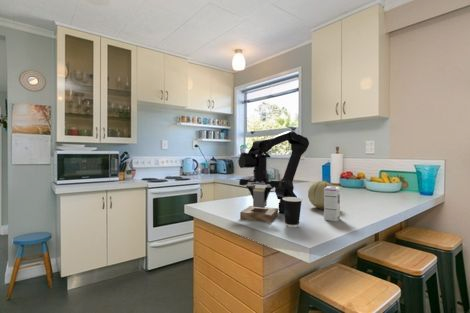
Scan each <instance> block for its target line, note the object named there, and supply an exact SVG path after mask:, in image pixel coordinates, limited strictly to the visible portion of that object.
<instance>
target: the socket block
mask: <svg viewBox="0 0 470 313" xmlns="http://www.w3.org/2000/svg"><path fill="white" fill-rule="evenodd" d="M239 213H240V214H239V215H240V217H239V219H240V220H248V221H257V222H266V223H272V222H273V221H274V219H276V218H277V217H278V215H279V207H277V208H275V207H267V206H265V207H264V208H261V207H253V205H249V206H248V207H246V208H244V209H243V210H241V211H240V212H239Z"/></svg>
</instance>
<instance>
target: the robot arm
mask: <svg viewBox="0 0 470 313" xmlns="http://www.w3.org/2000/svg"><path fill="white" fill-rule="evenodd" d="M285 142H287V144H290V150H291V151H290V152H291V154H290V156H289V160H288V163H287V166H286V168H285V171H284V174H283V177H282V179H271V180H270V174H269V173H268V169H267V165H268V164H267V161H268V160H267V158H268V159H269V158H271V157H272V156H271V155H270V154H269V153H268V152H269V151H270V150H272V149H273V147H276V146H277V145H280V144H282V143H285ZM309 146H310V141H309V138H307V137H306V136H303V135H301V134H300V133H299V134H298V133H296V132H295V131H294V130H288V131H287V130H286V131H284V132H282V133H279V134H277V135H274V136H271V137H269V138H266V139H265V138H263V139H258V140H254V141H253V142H252V145H251V147H250V149H249V150H248V152H240V156H239V158H238V165H239V168H241V169H252V170H253V179H251V178H246V177H244V178H240V179H239V181H238V183H239V186H245V188H247V189H248V191H249V193H250V195H251V197H252V199H253V189H255V188H256V185H261V186H266V187H264V188H265V202H266V201H267V202H268V198H269V196H270V192H271V190H273V189H274V188H275V189H274V193H275V195H276V198H277V200H279V202H278V214H284V203H283V198H285V197H296V198H298V197H297V195H296V194H295V193H294V188H295V187H294V182H293V181H294V179H295V175H296V173H297V169H298V166H299V163H300V161H301V157H302V155H303V154H304V153H305V152H306V151H307V150H308V148H309Z"/></svg>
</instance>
